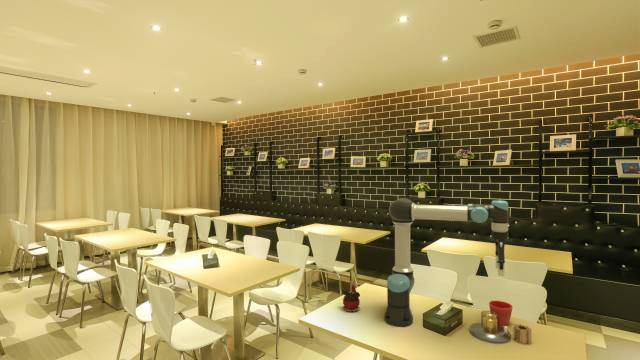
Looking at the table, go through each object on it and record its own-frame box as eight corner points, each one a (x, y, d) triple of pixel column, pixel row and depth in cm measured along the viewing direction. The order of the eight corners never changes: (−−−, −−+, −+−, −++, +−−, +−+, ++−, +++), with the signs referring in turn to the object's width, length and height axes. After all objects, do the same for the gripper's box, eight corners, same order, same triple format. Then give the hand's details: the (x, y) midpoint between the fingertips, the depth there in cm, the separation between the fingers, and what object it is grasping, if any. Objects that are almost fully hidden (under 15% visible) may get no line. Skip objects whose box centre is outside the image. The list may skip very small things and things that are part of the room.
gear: (514, 342, 154) (514, 329, 154) (512, 335, 160) (512, 323, 160) (532, 345, 151) (532, 332, 151) (529, 338, 157) (529, 325, 157)
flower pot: (515, 328, 168) (515, 309, 168) (492, 326, 170) (492, 307, 170) (508, 319, 178) (508, 301, 178) (486, 317, 180) (486, 299, 180)
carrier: (470, 338, 157) (470, 322, 157) (469, 321, 175) (469, 307, 175) (513, 346, 150) (513, 329, 150) (508, 327, 168) (508, 312, 168)
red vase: (339, 310, 192) (339, 279, 191) (346, 304, 200) (346, 275, 199) (356, 314, 186) (355, 282, 186) (363, 308, 194) (362, 278, 194)
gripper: (511, 235, 156) (511, 280, 157) (505, 227, 179) (505, 266, 179) (493, 234, 159) (493, 278, 160) (490, 226, 182) (489, 264, 182)
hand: (499, 272), depth 170 cm, fingers open, 13 cm apart
